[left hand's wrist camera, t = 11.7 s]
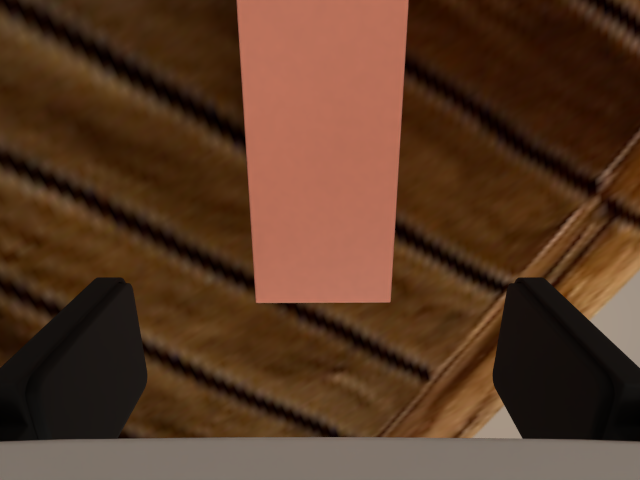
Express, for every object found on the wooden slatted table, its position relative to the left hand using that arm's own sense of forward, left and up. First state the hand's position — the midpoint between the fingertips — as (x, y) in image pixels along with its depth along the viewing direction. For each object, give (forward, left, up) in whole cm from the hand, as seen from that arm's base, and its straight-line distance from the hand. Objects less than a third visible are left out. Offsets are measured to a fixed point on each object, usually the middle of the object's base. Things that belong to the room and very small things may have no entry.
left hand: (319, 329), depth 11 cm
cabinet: (+4, +4, -18) cm, 19 cm away
